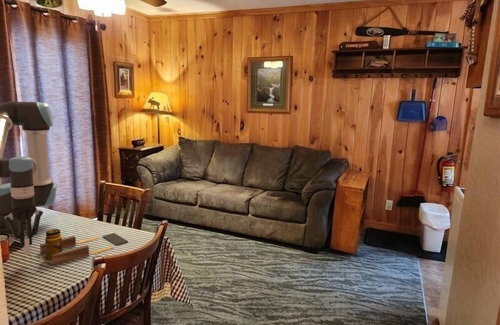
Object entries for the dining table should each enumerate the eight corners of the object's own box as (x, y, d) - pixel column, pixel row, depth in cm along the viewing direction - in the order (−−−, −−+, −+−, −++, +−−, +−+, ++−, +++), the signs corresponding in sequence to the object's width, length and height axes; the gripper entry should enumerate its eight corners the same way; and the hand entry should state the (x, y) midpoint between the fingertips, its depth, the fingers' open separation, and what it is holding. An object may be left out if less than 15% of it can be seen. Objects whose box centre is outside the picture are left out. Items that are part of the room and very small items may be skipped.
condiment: (64, 258, 141) (62, 232, 139) (40, 263, 136) (38, 235, 134) (62, 252, 147) (61, 226, 145) (40, 256, 142) (38, 229, 140)
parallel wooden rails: (40, 252, 145) (39, 244, 144) (74, 243, 156) (73, 235, 155) (53, 265, 135) (53, 256, 134) (89, 254, 145) (88, 246, 145)
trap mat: (102, 237, 165) (102, 236, 164) (114, 234, 169) (114, 232, 169) (116, 245, 156) (116, 244, 155) (128, 242, 160) (128, 241, 160)
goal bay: (75, 242, 157) (75, 242, 157) (97, 237, 164) (97, 236, 164) (91, 254, 146) (91, 254, 146) (113, 248, 153) (113, 247, 153)
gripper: (5, 201, 123) (10, 261, 126) (45, 195, 132) (48, 251, 136) (0, 197, 127) (4, 255, 131) (38, 192, 137) (41, 245, 141)
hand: (26, 253), depth 133 cm, fingers closed
